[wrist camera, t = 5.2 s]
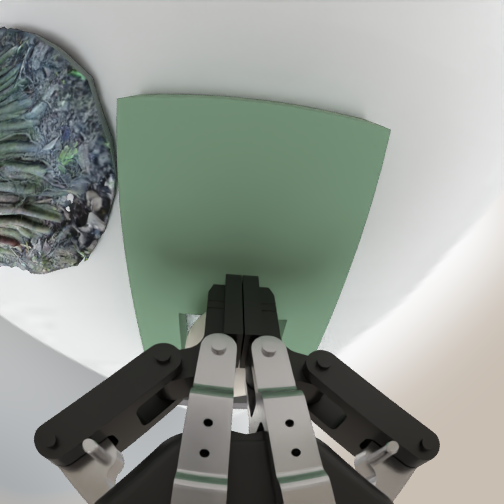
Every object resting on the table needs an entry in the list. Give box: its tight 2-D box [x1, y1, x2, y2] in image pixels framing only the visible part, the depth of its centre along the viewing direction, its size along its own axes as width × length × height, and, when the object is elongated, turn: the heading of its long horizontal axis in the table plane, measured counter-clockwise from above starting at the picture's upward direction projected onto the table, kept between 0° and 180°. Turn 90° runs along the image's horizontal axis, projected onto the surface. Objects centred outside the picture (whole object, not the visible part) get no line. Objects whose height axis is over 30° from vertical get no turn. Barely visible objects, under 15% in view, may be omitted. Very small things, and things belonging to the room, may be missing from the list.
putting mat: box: [117, 94, 391, 409], centre depth 16 cm, size 20×12×5 cm, turn 173°
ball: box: [185, 312, 246, 397], centre depth 15 cm, size 5×5×5 cm
